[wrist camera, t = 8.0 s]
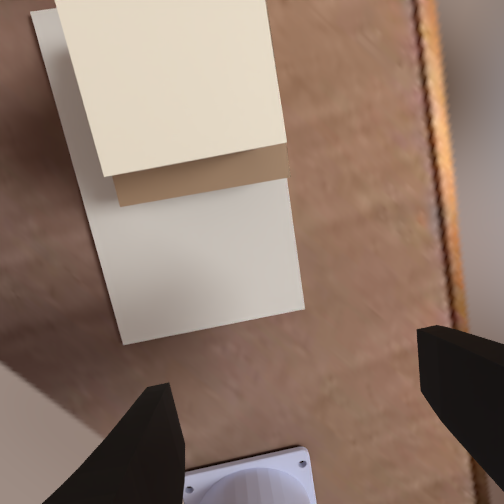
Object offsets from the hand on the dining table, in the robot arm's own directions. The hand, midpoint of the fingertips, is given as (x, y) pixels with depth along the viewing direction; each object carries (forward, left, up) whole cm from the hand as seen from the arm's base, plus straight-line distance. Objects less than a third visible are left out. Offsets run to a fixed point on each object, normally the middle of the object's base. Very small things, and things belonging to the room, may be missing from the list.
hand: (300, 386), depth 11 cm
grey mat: (+6, +3, -10) cm, 12 cm away
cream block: (+9, +2, -6) cm, 11 cm away
